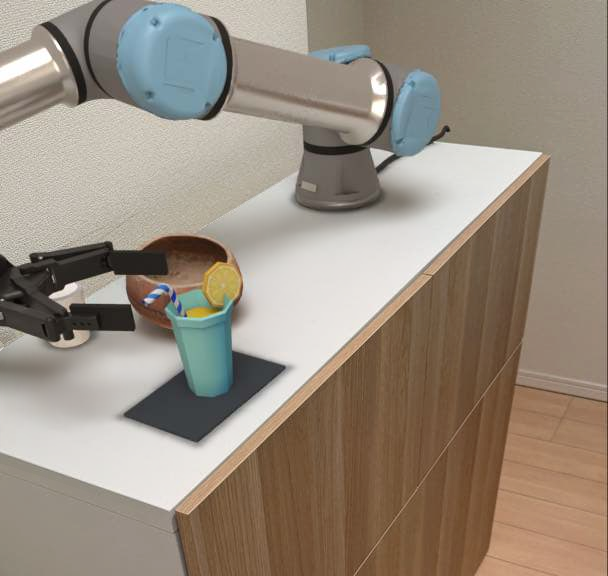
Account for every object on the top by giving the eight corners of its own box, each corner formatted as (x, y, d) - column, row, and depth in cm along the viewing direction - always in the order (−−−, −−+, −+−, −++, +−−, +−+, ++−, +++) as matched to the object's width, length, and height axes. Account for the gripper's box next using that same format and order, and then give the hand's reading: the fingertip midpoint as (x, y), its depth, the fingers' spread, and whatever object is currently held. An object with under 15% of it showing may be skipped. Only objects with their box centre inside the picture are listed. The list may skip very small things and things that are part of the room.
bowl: (162, 359, 100) (148, 286, 93) (117, 314, 110) (101, 245, 103) (266, 324, 106) (260, 252, 99) (214, 284, 116) (205, 217, 109)
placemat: (216, 348, 102) (216, 345, 101) (285, 368, 97) (285, 365, 97) (124, 416, 91) (123, 413, 90) (197, 442, 86) (196, 439, 86)
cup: (192, 426, 88) (170, 303, 78) (143, 407, 91) (115, 286, 81) (266, 371, 96) (255, 252, 86) (218, 355, 99) (202, 239, 89)
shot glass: (48, 327, 108) (34, 279, 103) (97, 323, 108) (85, 275, 104) (40, 352, 103) (25, 302, 98) (92, 347, 103) (79, 298, 99)
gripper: (24, 271, 100) (182, 272, 97) (-68, 372, 82) (123, 377, 79) (5, 212, 95) (172, 212, 92) (-97, 306, 77) (107, 309, 74)
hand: (150, 288), depth 86 cm, fingers open, 13 cm apart
